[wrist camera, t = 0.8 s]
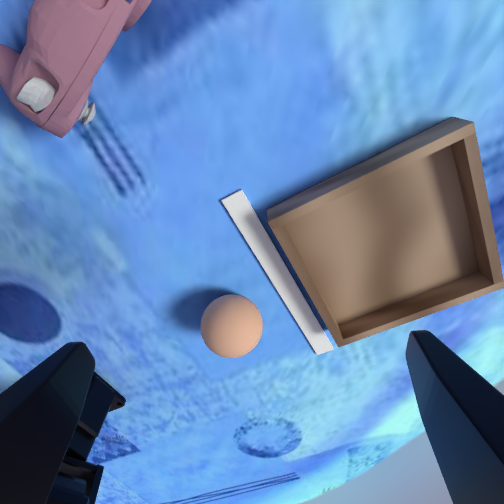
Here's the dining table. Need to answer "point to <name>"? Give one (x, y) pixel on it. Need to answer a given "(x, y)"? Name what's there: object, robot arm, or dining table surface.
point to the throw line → (276, 269)
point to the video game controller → (63, 58)
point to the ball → (231, 326)
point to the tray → (394, 234)
